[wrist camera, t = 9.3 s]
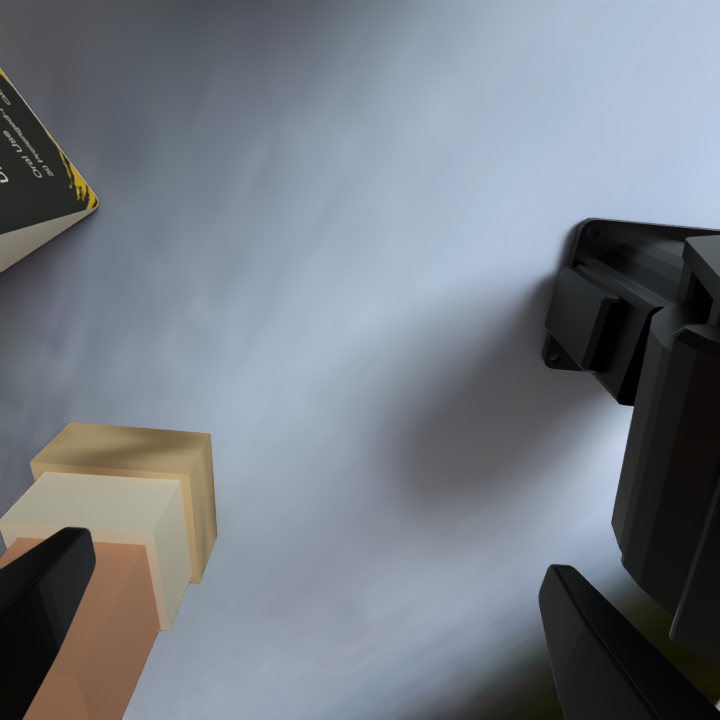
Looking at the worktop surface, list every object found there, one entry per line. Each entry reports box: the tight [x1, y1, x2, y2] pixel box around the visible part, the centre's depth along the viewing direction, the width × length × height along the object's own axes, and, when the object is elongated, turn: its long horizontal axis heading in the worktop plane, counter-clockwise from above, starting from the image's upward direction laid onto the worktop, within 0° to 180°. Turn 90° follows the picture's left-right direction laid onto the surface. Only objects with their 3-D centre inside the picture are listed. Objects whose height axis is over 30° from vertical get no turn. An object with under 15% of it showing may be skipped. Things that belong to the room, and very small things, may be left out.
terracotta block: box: [0, 537, 160, 720], centre depth 18 cm, size 5×5×5 cm
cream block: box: [0, 472, 192, 631], centre depth 21 cm, size 6×6×3 cm
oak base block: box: [30, 422, 217, 584], centre depth 24 cm, size 7×7×4 cm
